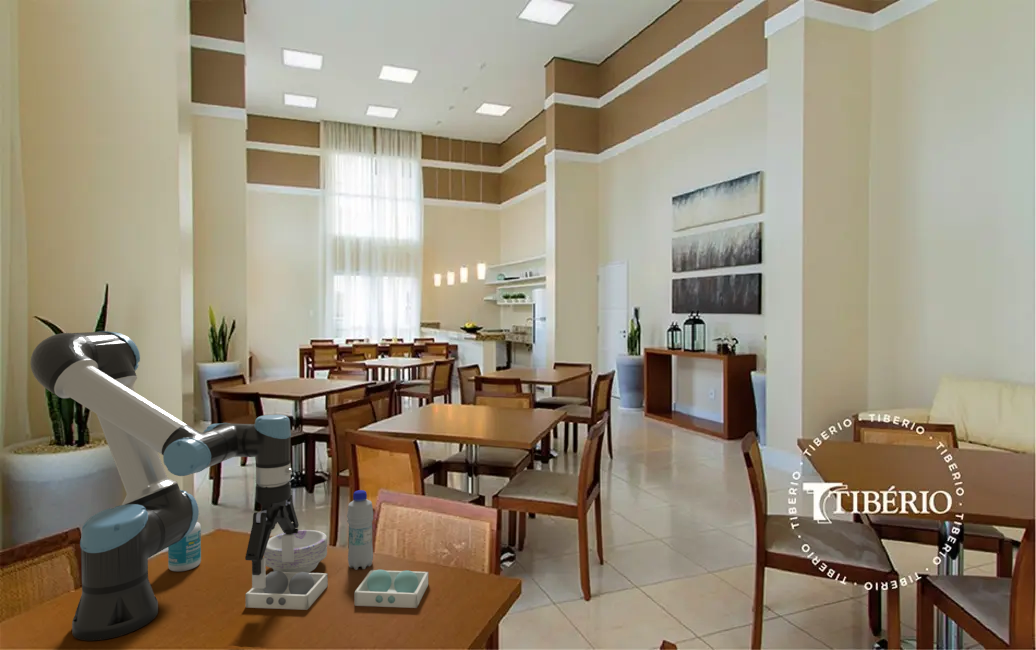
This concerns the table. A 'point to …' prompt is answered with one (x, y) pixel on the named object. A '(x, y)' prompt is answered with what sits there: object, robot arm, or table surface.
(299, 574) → the charcoal ball
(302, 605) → the dish left
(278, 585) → the charcoal ball
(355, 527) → the bottle
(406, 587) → the teal ball
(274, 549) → the paper bowls
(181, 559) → the pill bottle
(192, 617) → the table surface
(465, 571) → the table surface
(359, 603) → the dish right
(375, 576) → the teal ball
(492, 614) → the table surface
